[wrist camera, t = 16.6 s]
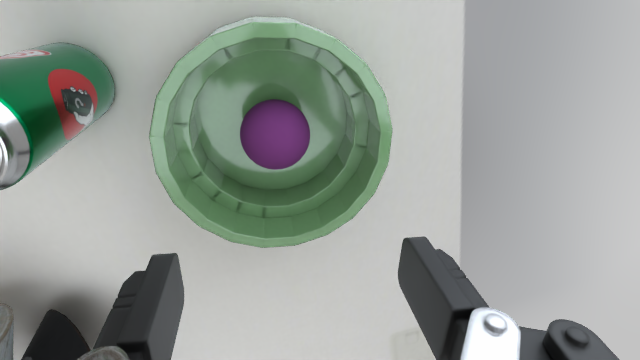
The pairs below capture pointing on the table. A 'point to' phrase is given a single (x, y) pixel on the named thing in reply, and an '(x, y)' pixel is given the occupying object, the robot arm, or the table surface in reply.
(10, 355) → the telephone
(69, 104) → the soda can
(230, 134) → the green bowl
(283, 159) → the plum ball
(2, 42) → the table surface
